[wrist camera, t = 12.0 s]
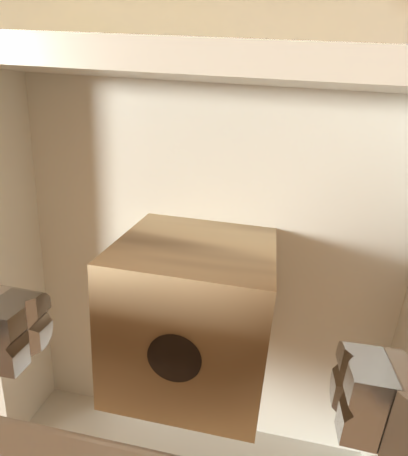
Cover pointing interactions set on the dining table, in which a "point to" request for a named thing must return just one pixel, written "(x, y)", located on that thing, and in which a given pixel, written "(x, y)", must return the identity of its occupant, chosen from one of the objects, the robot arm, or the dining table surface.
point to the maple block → (184, 323)
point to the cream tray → (207, 204)
